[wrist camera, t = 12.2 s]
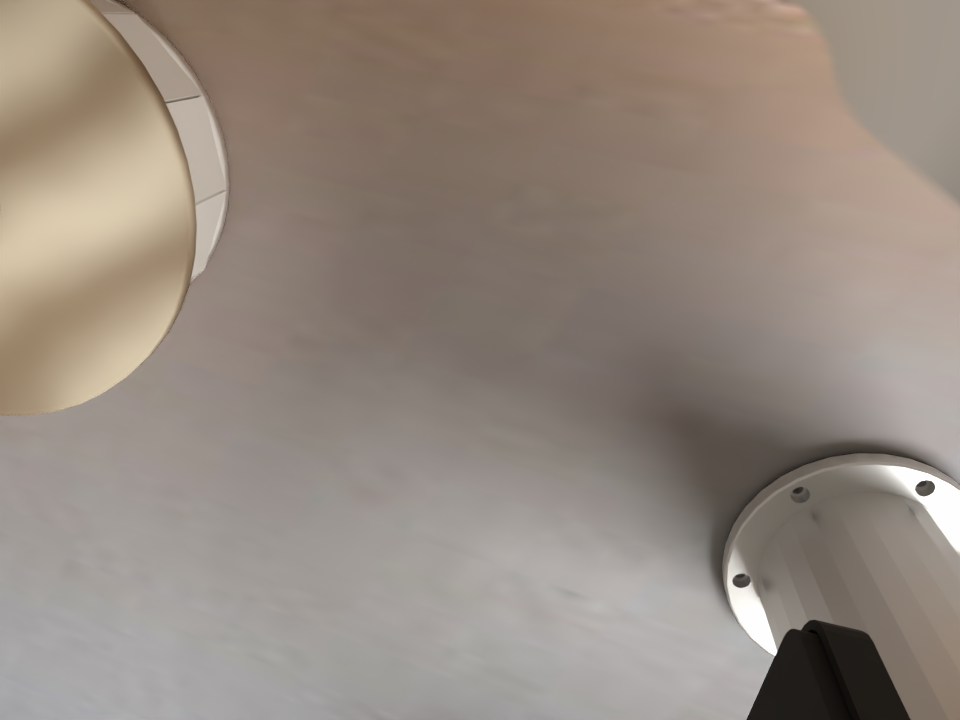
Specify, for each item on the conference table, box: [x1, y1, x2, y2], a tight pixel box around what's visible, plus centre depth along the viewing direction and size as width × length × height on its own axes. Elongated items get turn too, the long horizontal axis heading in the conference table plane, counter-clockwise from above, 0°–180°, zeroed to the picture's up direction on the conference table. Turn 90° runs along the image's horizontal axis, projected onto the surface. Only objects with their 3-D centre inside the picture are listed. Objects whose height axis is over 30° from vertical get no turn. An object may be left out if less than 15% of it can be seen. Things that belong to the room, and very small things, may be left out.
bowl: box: [89, 0, 230, 283], centre depth 34 cm, size 15×15×7 cm
